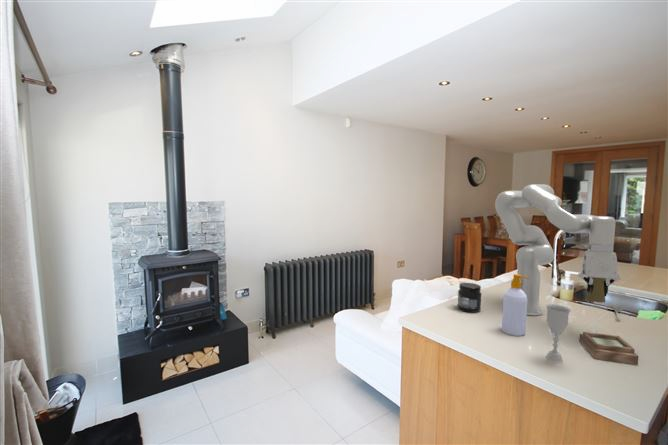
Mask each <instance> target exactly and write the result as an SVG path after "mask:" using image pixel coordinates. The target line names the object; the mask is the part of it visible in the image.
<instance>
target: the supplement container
mask: <svg viewBox="0 0 668 445" xmlns="http://www.w3.org/2000/svg"><path fill="white" fill-rule="evenodd" d="M458 288H459V289H458V291H457V293H458V294H457V308H458V309H459V310H461V311H462V312H465V313H471V314H473V313H474V314H475V313H479V312H480V311H481V309H482V292H481V291H482V288H481V285H479V284H477V283H473V282H461V283H459V286H458Z"/></svg>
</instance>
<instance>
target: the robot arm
mask: <svg viewBox="0 0 668 445" xmlns="http://www.w3.org/2000/svg"><path fill="white" fill-rule="evenodd" d="M562 204H563V203H562V199H561V198H560V197H559V196H557V195H555V190H554V189H553V187H551V186H550V185H549V184H543V183H541V184H539V183H538V184H537V183H535V184H534V183H532V184H528V185H526V186H524V187H523V189H522V190H504V191H502V192H500V193H499V194H498V195H497V197H496V199H495V202H494V207H495V211H496V213H497V216H499V218H500V220H501V222H502V223H503V226H504V228H505V230H506V232H507V234H508V236H509V238H510V240H511V242H512V243H513V244H514V245H515V246H516V245H517V246H522V247H520V248H519V249H517V250H516V253H515V260H516V268H517V269H516V271H517V272H516V274H519V275H521V276H526V277H529V279H527V278H519V280H520V282H521V290H522V291H524V293H525V294H526V296H527V315H526V316H536V317H537V316H542V314H543V310H542V309H541V308H539V307H540V306H539V304H540V292H541V291H540V290H541V272H540V268H539V266H545V265H548V264H551V263H552V262H553V261H554V259H555V253H554V249H553V248H552V246H551V244H550V242H549V240H548V237H547V236H546V235H545V233H544V230H542V229H541V228H540V227H539V226H537V225H534V224H532V225H531V224H526V223H525V222H524V219H523V217H522V216H521V215H520V214H519V212H518V211H517V210H515V209H514V208H520V209H521V208H530V207H533V206H534V207H535V208H537V209H538V210H539V211H541V212H543V214H545V216H546V218H547V220H548V221H549V223H551V224H552V225H553V226H554V227H556V228H558V229H559V230H561V231H563V232H565V233H568V234H588V235H589V236H588V243H587V244H584V245H583V246H584V247H583V248H584V249H587V250H586V251H585V254H584V257H583V261H582V266H581V269H580V270H579V272H578V273H577V277H579V278H581V279H582V280H584V282H585V283H587V286H586V292H587V293H588V292H590V289H591V294H592V290H593V287H594V285H592V284H593V279H592V278H604V279H606V280H605V281H604V294H605V297H607V294H608V293H609V287H610V286H611V285H612V284H614V282H618V281H620V280H621V276H619V274H618V257H617V253H616V252H614V244H615V232H616V219H615V218H614V217H613V216H605V215H604V216H603V215H594V214H593V215H592V214H580V213H579V214H572V213H570V212H568V211H566V210H565V209H563V208H562Z"/></svg>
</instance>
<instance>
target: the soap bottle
mask: <svg viewBox="0 0 668 445" xmlns="http://www.w3.org/2000/svg"><path fill="white" fill-rule="evenodd" d="M519 278H527V279H529V277H526V276H521V275H519V274H517V273H513V278H512V280H511V282H510V288H508V289H507V290H505V291H504V294H503V298H502V302H503V303H502V318H501V331H502V332H503V333H505V334H508V335H511V336H515V337H516V336H517V337H521V336H525V335H526V330H527V329H526V327H527V316H528V315H527V296H526V294H525V293H524V291H522V290H521V282H520V280H519Z"/></svg>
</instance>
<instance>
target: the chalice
mask: <svg viewBox="0 0 668 445" xmlns="http://www.w3.org/2000/svg"><path fill="white" fill-rule="evenodd" d="M545 307H546V309H547V311H546V322H547V325H548V328H549V330H550V332H551V334H553V335H554V337H553V338H552V340H553V343H552V346H553V349H551V350H550V351H548V353H546V356H545V358H546V359H547V361H548V360H549V361H551V362H553V363H557V364H558V363H560V364H562V363H564V359H563V357H562V354H561V353H560V352H559V351H558V347H559V345H558V342H559V336H561V335H562V334H563V333H564V332H565V330H566V328H567V327H568V325H569V315H570V312H571V308H569V307H567V306H565V305H562V304H561V305H560V304H557V303H556V304H555V303H547V304H545Z"/></svg>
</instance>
